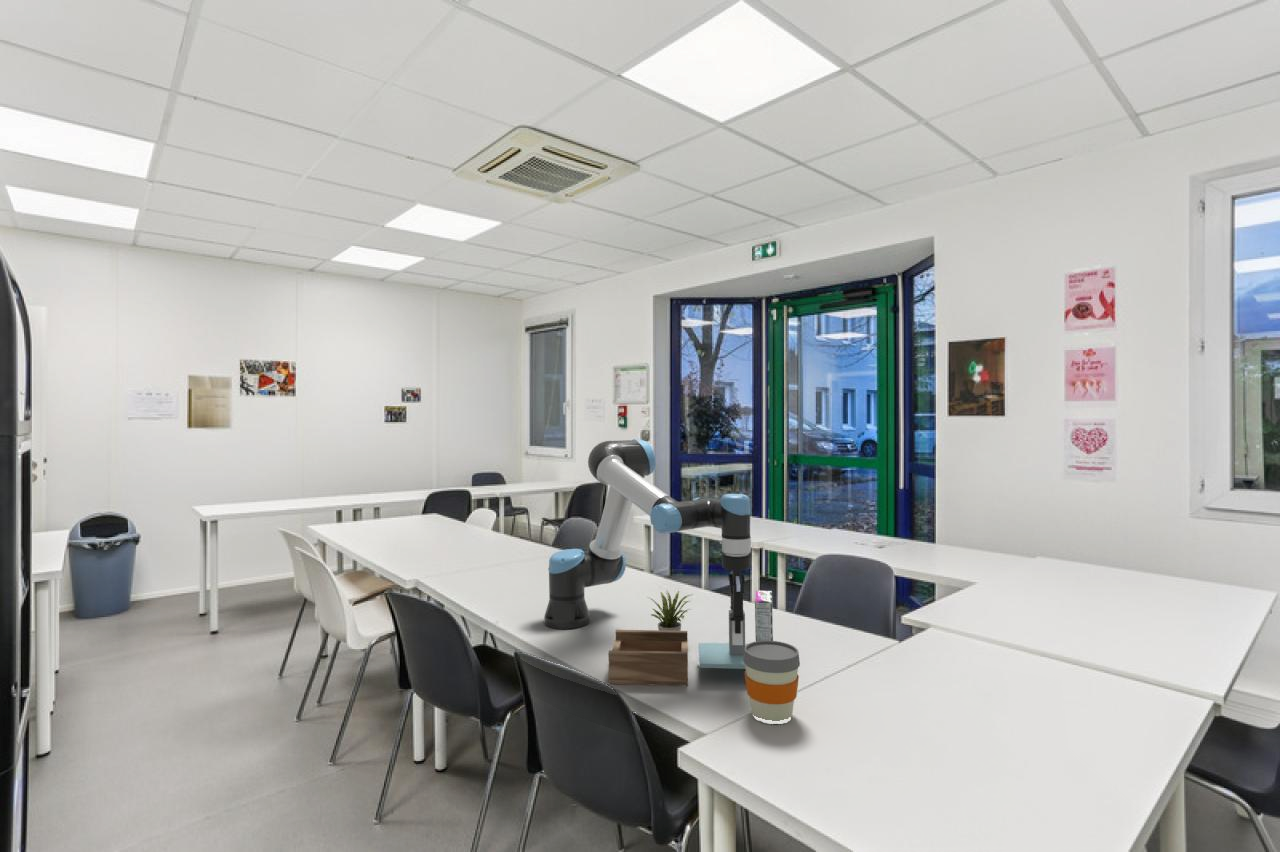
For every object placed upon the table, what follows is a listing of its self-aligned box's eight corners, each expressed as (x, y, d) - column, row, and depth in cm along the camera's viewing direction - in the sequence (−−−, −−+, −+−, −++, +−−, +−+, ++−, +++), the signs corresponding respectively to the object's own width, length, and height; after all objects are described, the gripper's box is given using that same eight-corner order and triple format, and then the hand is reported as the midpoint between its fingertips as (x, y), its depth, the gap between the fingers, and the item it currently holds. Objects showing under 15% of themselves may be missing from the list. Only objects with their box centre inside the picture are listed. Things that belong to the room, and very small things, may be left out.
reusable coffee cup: (789, 734, 135) (789, 664, 135) (734, 720, 142) (734, 653, 141) (807, 711, 146) (807, 646, 145) (755, 698, 152) (755, 636, 152)
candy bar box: (755, 644, 188) (755, 589, 188) (773, 645, 187) (772, 590, 187) (755, 658, 177) (754, 600, 177) (773, 660, 176) (772, 601, 176)
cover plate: (698, 646, 175) (698, 603, 175) (771, 647, 174) (771, 603, 173) (699, 667, 160) (699, 620, 160) (779, 669, 159) (779, 621, 159)
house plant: (707, 645, 188) (707, 590, 188) (677, 658, 178) (677, 600, 178) (670, 634, 198) (670, 582, 198) (640, 646, 188) (640, 591, 188)
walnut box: (616, 659, 178) (616, 629, 178) (687, 660, 177) (687, 630, 176) (608, 684, 161) (608, 652, 161) (687, 686, 159) (687, 653, 159)
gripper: (720, 547, 175) (721, 631, 175) (723, 560, 159) (724, 653, 159) (747, 547, 174) (748, 632, 175) (753, 560, 158) (754, 653, 159)
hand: (737, 641), depth 167 cm, fingers closed on cover plate, 3 cm apart
